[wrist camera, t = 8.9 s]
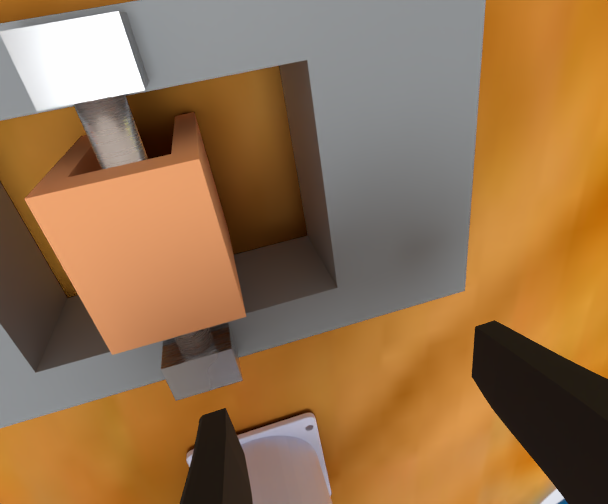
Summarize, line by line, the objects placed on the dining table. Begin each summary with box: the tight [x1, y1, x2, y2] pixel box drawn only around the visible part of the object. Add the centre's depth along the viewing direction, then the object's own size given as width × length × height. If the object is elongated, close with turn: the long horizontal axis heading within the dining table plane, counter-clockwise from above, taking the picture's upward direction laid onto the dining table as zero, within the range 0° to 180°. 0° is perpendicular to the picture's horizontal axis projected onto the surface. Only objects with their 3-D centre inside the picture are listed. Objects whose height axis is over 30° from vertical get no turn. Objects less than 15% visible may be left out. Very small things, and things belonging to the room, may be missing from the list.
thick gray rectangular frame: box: [0, 0, 486, 428], centre depth 14 cm, size 12×22×6 cm, turn 98°
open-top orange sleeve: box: [25, 112, 246, 355], centre depth 13 cm, size 5×4×6 cm
